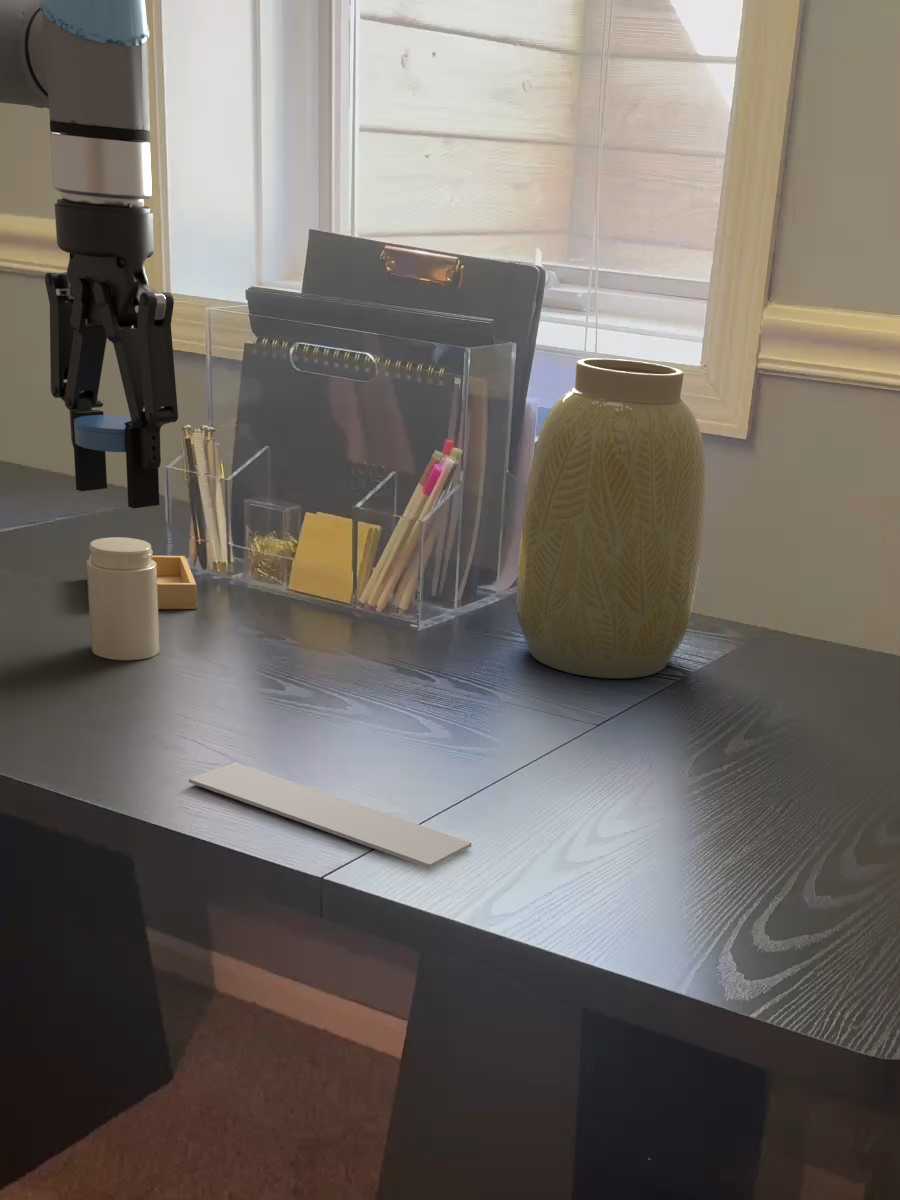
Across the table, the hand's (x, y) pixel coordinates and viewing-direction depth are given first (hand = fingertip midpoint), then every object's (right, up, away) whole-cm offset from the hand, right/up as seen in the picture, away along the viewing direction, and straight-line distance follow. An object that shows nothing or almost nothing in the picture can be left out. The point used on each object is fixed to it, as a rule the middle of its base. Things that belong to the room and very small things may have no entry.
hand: (117, 496), depth 127 cm
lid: (+1, +5, -3) cm, 6 cm away
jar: (-1, -12, +6) cm, 14 cm away
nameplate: (+21, -30, -22) cm, 43 cm away
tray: (-4, -3, +23) cm, 23 cm away
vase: (+42, -11, +17) cm, 47 cm away
